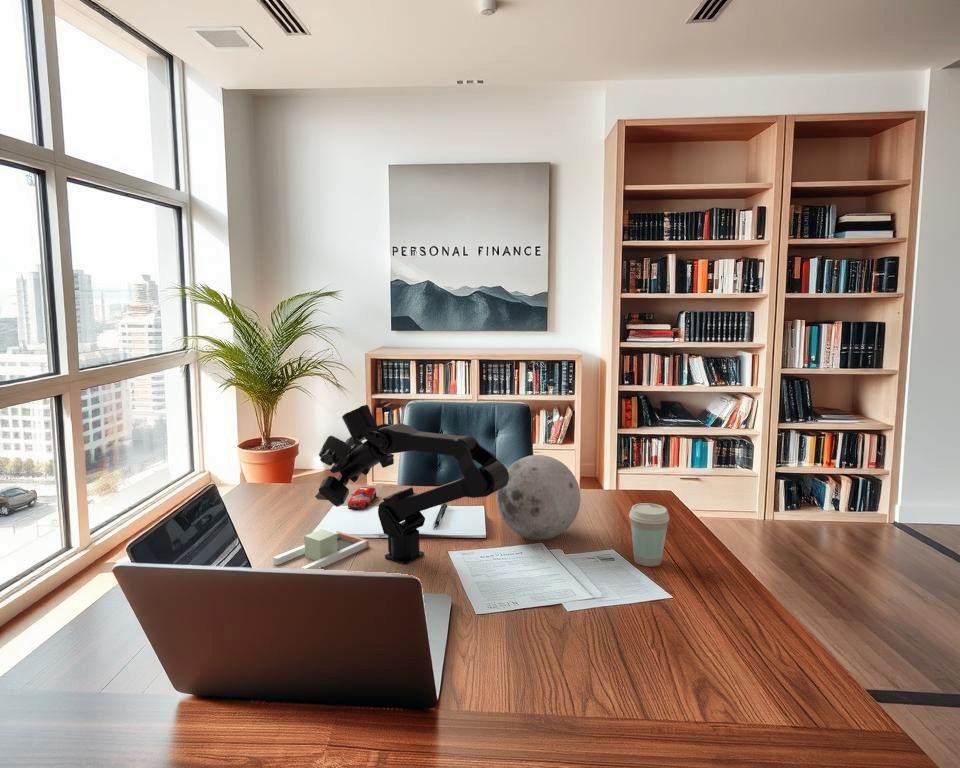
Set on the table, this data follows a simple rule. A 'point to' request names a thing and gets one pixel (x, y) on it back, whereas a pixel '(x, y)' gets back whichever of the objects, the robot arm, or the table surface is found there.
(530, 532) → the moon model
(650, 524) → the coffee cup
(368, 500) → the race car
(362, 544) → the channel
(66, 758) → the table surface
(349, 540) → the grey and orange drawer
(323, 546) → the block
